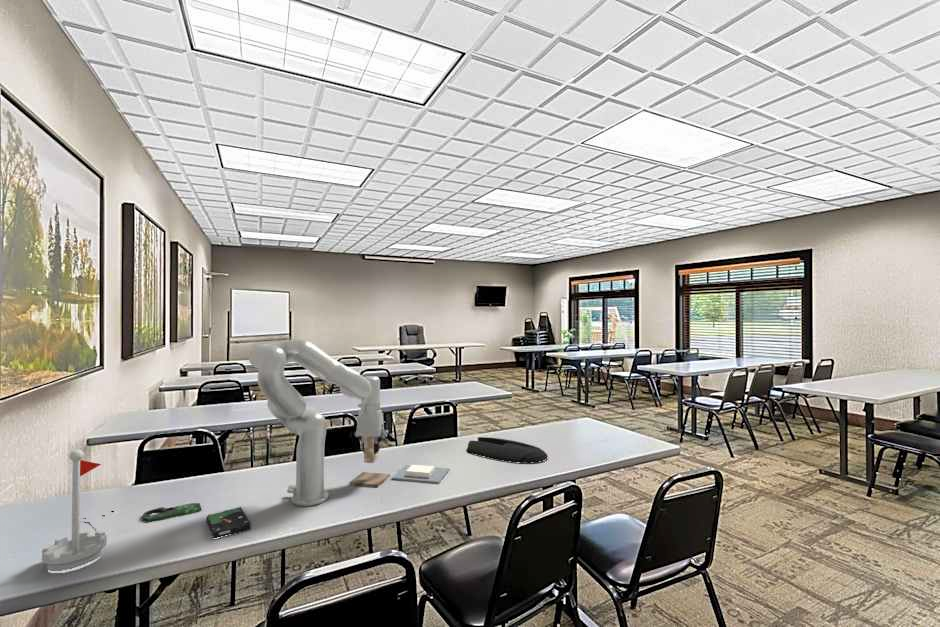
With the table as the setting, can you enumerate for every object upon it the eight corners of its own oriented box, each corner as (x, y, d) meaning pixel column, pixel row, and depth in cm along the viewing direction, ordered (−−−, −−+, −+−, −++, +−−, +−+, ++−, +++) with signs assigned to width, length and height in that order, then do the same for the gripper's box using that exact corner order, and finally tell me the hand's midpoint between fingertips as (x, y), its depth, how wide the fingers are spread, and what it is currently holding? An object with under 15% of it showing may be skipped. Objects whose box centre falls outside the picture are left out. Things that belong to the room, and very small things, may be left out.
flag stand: (44, 582, 110) (45, 460, 111) (39, 562, 119) (40, 450, 119) (110, 561, 120) (112, 449, 120) (101, 544, 129) (103, 440, 129)
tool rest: (349, 484, 175) (349, 482, 175) (363, 474, 187) (363, 471, 187) (377, 487, 173) (377, 484, 173) (389, 476, 184) (389, 474, 184)
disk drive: (251, 531, 138) (240, 514, 150) (251, 522, 138) (240, 506, 150) (213, 542, 132) (205, 523, 143) (213, 532, 132) (205, 514, 143)
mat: (391, 479, 181) (391, 477, 181) (405, 466, 197) (405, 464, 197) (438, 483, 177) (438, 481, 177) (449, 470, 192) (449, 468, 192)
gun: (200, 498, 159) (201, 508, 151) (200, 503, 159) (201, 513, 151) (143, 509, 150) (141, 520, 142) (143, 513, 150) (141, 525, 142)
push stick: (364, 462, 179) (364, 435, 179) (368, 459, 183) (368, 432, 183) (373, 463, 178) (373, 435, 178) (377, 459, 182) (377, 432, 182)
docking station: (533, 469, 195) (533, 458, 195) (458, 453, 218) (458, 442, 218) (557, 455, 215) (557, 444, 215) (486, 441, 239) (486, 432, 239)
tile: (412, 469, 190) (405, 476, 183) (412, 464, 190) (405, 470, 183) (434, 471, 188) (429, 478, 180) (434, 466, 188) (429, 472, 180)
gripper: (347, 408, 178) (347, 454, 178) (386, 410, 175) (386, 456, 175) (355, 404, 186) (356, 448, 186) (393, 406, 182) (393, 450, 182)
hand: (370, 452), depth 180 cm, fingers closed on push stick, 4 cm apart
